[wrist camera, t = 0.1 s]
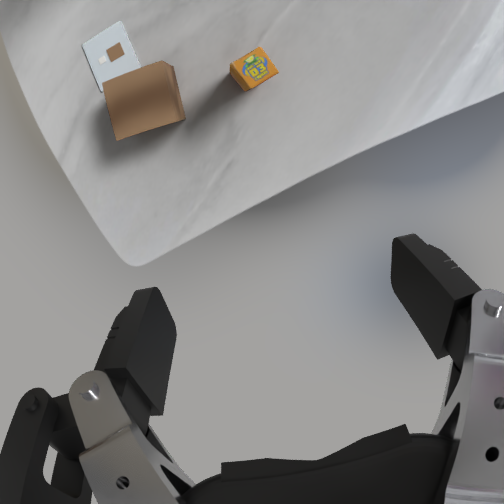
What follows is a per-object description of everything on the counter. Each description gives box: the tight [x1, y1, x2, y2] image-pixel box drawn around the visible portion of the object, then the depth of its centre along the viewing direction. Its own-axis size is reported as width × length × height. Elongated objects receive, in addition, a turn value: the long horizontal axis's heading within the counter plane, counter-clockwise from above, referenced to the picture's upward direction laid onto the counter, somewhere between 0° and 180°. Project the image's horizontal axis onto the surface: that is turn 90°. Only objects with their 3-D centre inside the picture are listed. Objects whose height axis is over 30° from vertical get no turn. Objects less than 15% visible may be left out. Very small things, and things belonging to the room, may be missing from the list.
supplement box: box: [230, 47, 279, 91], centre depth 27 cm, size 3×3×10 cm
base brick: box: [102, 61, 186, 141], centre depth 29 cm, size 7×7×6 cm
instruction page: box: [82, 21, 141, 92], centre depth 28 cm, size 8×6×1 cm
